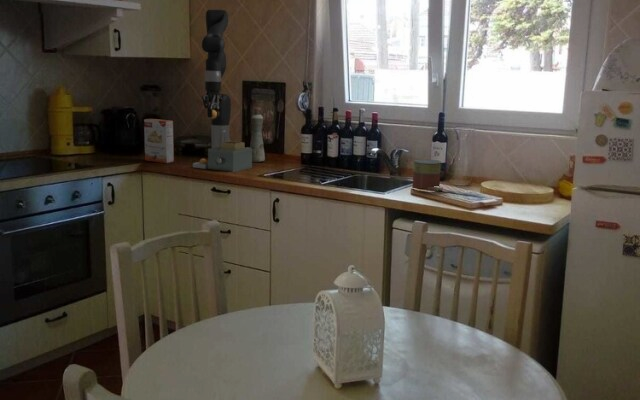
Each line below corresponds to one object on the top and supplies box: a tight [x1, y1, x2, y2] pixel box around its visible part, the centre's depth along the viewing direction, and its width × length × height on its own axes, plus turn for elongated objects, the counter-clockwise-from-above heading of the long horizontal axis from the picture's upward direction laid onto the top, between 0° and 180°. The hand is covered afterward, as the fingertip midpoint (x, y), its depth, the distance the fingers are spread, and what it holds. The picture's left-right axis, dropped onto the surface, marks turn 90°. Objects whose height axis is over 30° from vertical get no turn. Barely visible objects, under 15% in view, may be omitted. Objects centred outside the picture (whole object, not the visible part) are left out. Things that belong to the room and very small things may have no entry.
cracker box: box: [143, 118, 175, 164], centre depth 329 cm, size 14×6×21 cm, turn 62°
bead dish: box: [192, 161, 208, 170], centre depth 314 cm, size 7×7×2 cm
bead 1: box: [198, 158, 208, 164], centre depth 314 cm, size 4×4×4 cm
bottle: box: [249, 106, 266, 163], centre depth 337 cm, size 9×9×28 cm
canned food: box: [411, 158, 442, 189], centre depth 275 cm, size 11×11×12 cm
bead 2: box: [209, 110, 217, 119], centre depth 315 cm, size 4×4×4 cm
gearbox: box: [207, 140, 253, 174], centre depth 311 cm, size 18×14×12 cm
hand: (212, 116), depth 316 cm, fingers closed on bead 2, 4 cm apart
